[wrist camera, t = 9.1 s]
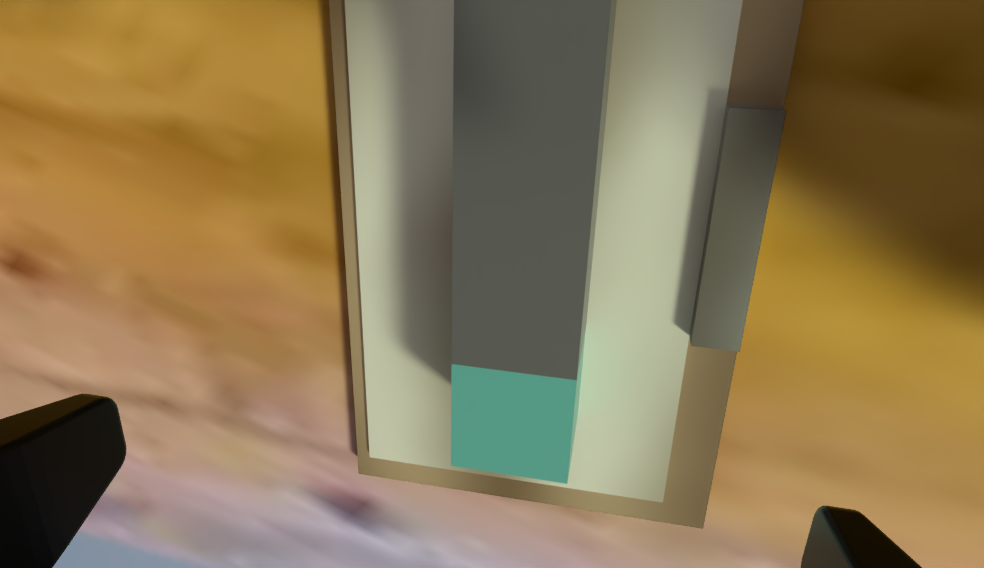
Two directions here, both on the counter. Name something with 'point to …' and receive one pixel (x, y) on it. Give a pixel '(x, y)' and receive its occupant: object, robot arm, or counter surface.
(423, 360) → the cream flat piece
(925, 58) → the counter surface
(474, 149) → the dark gray rectangular block
